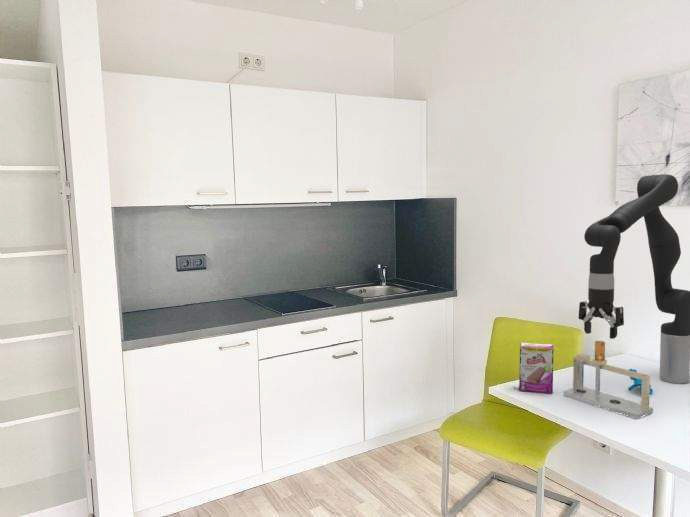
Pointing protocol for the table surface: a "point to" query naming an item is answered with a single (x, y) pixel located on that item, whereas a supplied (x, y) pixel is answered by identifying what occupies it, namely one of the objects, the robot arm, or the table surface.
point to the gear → (637, 383)
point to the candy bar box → (536, 367)
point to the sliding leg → (599, 362)
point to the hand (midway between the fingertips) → (600, 335)
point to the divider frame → (606, 399)
